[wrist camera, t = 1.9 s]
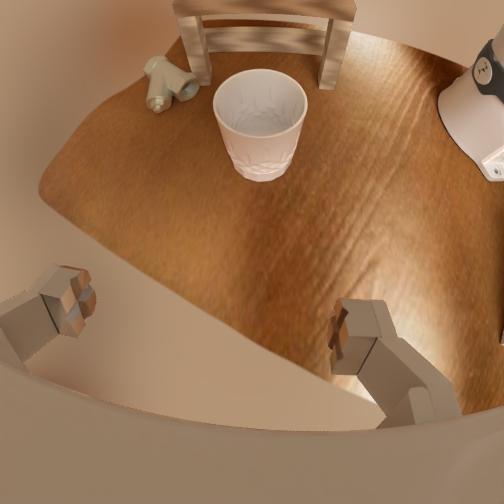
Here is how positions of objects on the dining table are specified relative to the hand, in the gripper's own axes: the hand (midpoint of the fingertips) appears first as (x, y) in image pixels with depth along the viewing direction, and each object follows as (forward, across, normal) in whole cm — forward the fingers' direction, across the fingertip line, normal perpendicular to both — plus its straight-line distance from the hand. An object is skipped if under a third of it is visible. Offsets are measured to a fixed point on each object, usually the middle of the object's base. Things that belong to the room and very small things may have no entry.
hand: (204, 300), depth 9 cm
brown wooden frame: (+37, 0, -8) cm, 38 cm away
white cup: (+27, -1, +3) cm, 27 cm away
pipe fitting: (+34, +13, -4) cm, 36 cm away
